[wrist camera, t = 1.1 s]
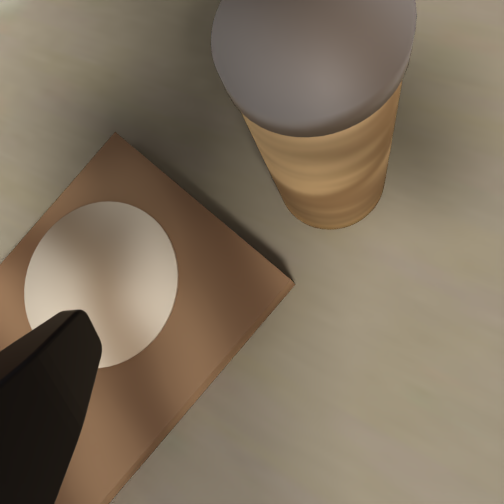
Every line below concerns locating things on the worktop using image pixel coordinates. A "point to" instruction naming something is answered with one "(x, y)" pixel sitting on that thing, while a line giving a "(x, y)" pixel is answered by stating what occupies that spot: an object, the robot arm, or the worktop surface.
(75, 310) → the robot arm
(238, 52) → the tan jar with lid
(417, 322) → the worktop surface
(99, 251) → the walnut board
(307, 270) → the worktop surface
